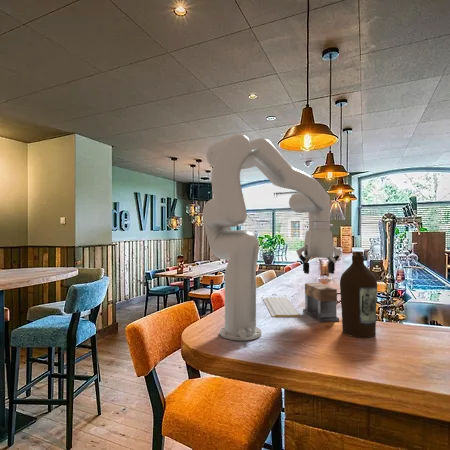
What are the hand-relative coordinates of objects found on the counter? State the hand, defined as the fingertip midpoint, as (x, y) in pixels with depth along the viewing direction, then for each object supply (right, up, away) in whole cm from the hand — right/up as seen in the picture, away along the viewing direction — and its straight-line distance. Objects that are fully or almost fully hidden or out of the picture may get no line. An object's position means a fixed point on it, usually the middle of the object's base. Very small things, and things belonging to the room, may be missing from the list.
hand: (318, 273), depth 119 cm
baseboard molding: (-13, -17, +14) cm, 25 cm away
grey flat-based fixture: (+1, -16, 0) cm, 16 cm away
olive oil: (+6, -16, -20) cm, 26 cm away
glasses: (+9, -17, +20) cm, 27 cm away
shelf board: (0, -9, 0) cm, 9 cm away
